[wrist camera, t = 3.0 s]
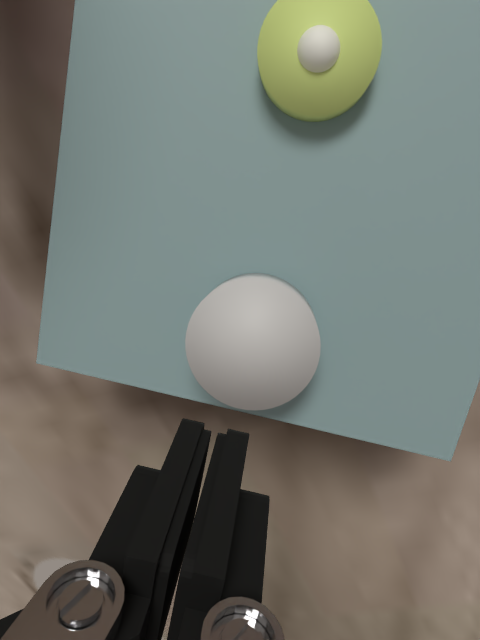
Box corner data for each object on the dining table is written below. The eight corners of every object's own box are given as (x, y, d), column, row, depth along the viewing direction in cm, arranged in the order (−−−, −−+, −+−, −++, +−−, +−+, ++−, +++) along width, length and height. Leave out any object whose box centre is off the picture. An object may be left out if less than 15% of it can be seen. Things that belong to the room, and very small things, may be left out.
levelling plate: (116, -166, 16) (68, -277, 13) (614, -81, 15) (715, -174, 12) (56, 351, 21) (8, 379, 17) (437, 441, 20) (470, 490, 16)
